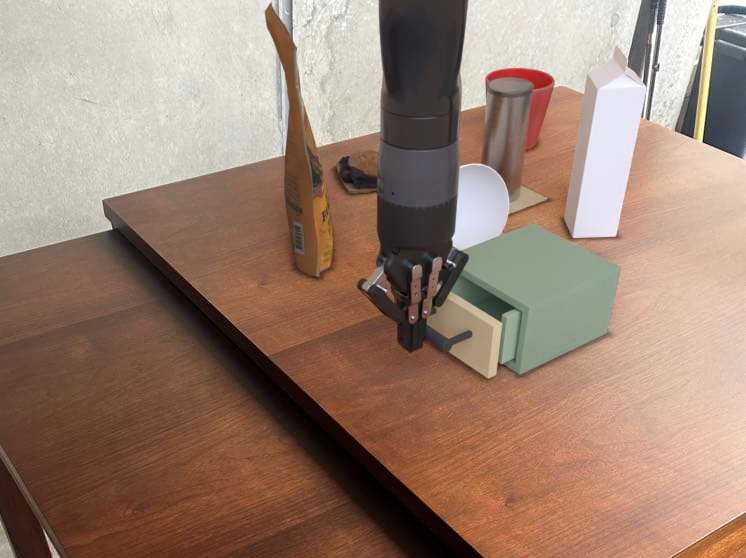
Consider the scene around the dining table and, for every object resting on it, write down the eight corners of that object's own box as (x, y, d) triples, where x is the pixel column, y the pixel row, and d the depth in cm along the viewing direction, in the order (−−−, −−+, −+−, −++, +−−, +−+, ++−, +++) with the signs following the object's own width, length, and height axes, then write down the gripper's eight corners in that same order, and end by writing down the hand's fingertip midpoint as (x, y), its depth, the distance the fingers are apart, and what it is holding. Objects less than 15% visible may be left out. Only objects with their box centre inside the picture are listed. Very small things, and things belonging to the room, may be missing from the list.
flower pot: (537, 128, 145) (545, 64, 138) (552, 153, 137) (562, 88, 130) (474, 131, 145) (479, 68, 138) (486, 157, 137) (492, 91, 130)
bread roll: (332, 167, 136) (331, 143, 134) (385, 162, 137) (385, 137, 134) (345, 195, 129) (344, 170, 126) (400, 189, 130) (401, 164, 127)
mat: (500, 177, 132) (500, 175, 131) (547, 199, 126) (547, 197, 125) (450, 195, 128) (450, 193, 127) (496, 219, 122) (496, 216, 122)
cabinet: (519, 375, 95) (529, 307, 89) (438, 322, 103) (442, 257, 97) (607, 333, 100) (621, 267, 94) (523, 286, 108) (532, 222, 102)
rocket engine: (401, 129, 120) (463, 144, 106) (459, 175, 127) (525, 195, 112) (358, 205, 123) (412, 229, 109) (416, 246, 130) (475, 274, 115)
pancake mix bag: (284, 286, 110) (264, 41, 90) (281, 219, 123) (263, -7, 104) (337, 283, 110) (328, 38, 90) (328, 216, 124) (319, -9, 104)
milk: (572, 239, 117) (601, 60, 101) (563, 218, 121) (590, 44, 106) (617, 237, 117) (653, 58, 101) (606, 217, 121) (640, 42, 106)
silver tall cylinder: (520, 187, 128) (533, 77, 118) (520, 205, 124) (533, 93, 113) (478, 185, 129) (487, 76, 118) (476, 203, 125) (486, 92, 114)
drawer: (457, 393, 91) (462, 340, 87) (385, 341, 99) (385, 290, 94) (571, 339, 98) (581, 288, 93) (495, 295, 105) (501, 245, 101)
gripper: (385, 220, 75) (383, 385, 87) (498, 180, 80) (481, 342, 93) (335, 191, 79) (340, 353, 92) (445, 155, 85) (436, 313, 97)
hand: (411, 347), depth 92 cm, fingers closed
